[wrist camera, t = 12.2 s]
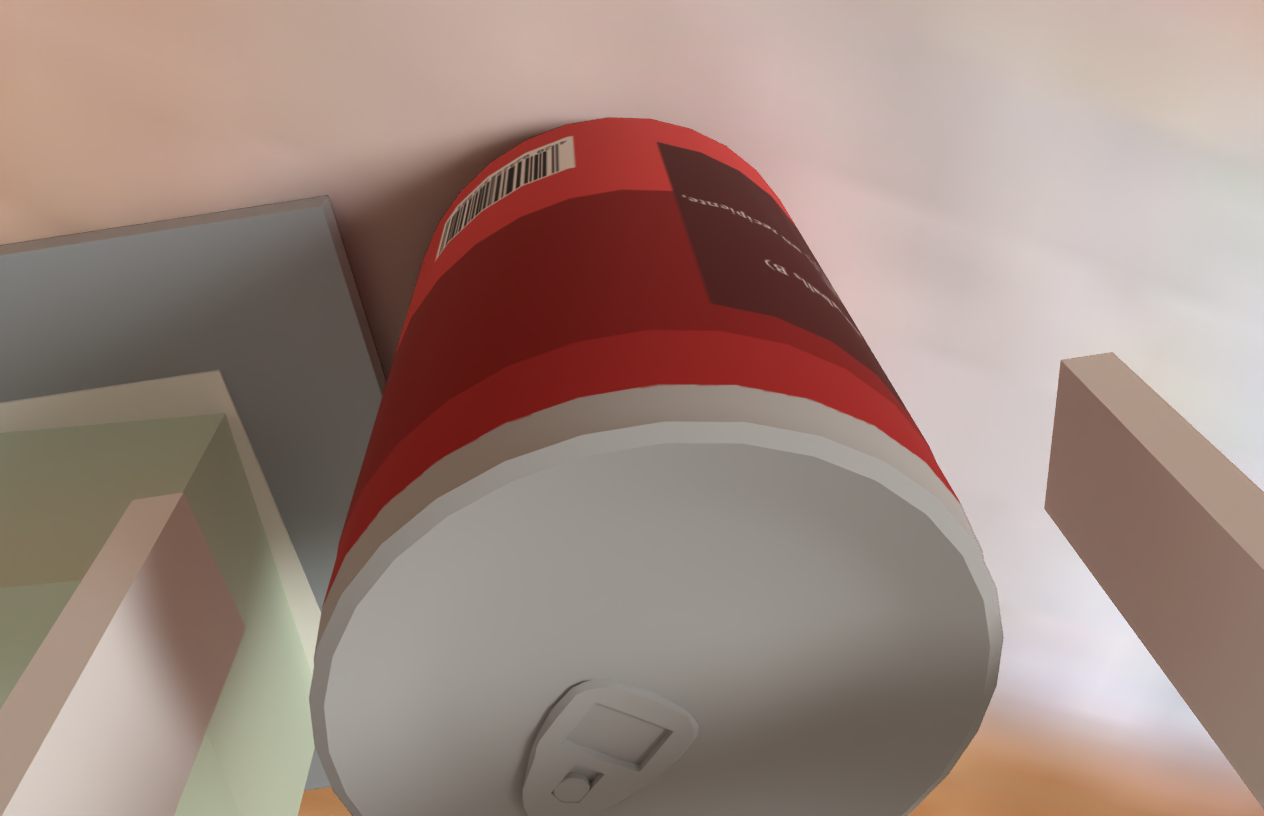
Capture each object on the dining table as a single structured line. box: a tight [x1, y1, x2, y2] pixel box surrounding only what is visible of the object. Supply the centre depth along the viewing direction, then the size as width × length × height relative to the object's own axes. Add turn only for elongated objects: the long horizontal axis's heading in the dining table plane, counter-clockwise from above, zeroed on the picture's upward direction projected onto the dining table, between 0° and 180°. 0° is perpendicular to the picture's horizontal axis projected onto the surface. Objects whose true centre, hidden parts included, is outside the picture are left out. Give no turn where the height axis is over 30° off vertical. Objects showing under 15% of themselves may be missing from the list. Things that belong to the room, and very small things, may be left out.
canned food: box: [309, 118, 1003, 816], centre depth 15 cm, size 8×8×11 cm
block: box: [0, 413, 315, 816], centre depth 20 cm, size 9×9×5 cm
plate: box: [0, 195, 386, 791], centre depth 22 cm, size 16×16×1 cm
